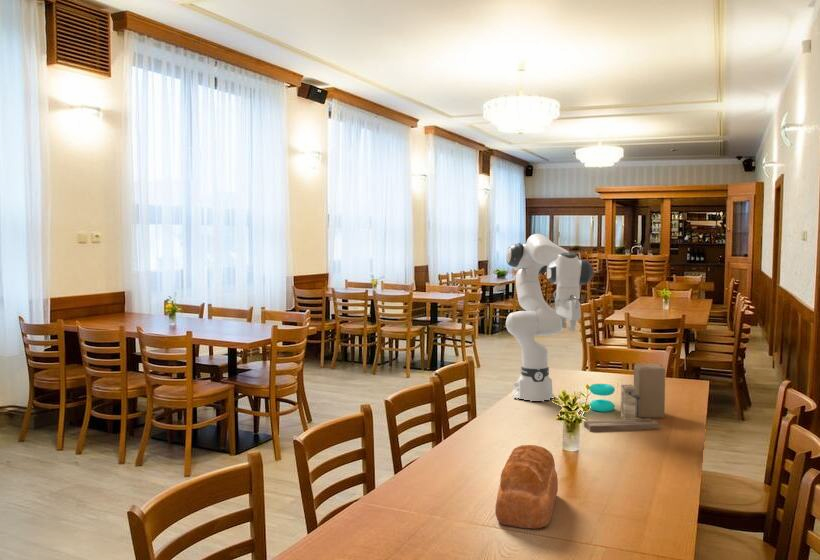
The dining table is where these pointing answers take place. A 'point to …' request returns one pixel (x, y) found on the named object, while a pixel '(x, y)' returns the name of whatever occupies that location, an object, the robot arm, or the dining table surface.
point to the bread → (527, 488)
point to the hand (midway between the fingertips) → (567, 329)
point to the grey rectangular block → (650, 390)
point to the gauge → (629, 402)
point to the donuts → (600, 403)
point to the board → (621, 425)
